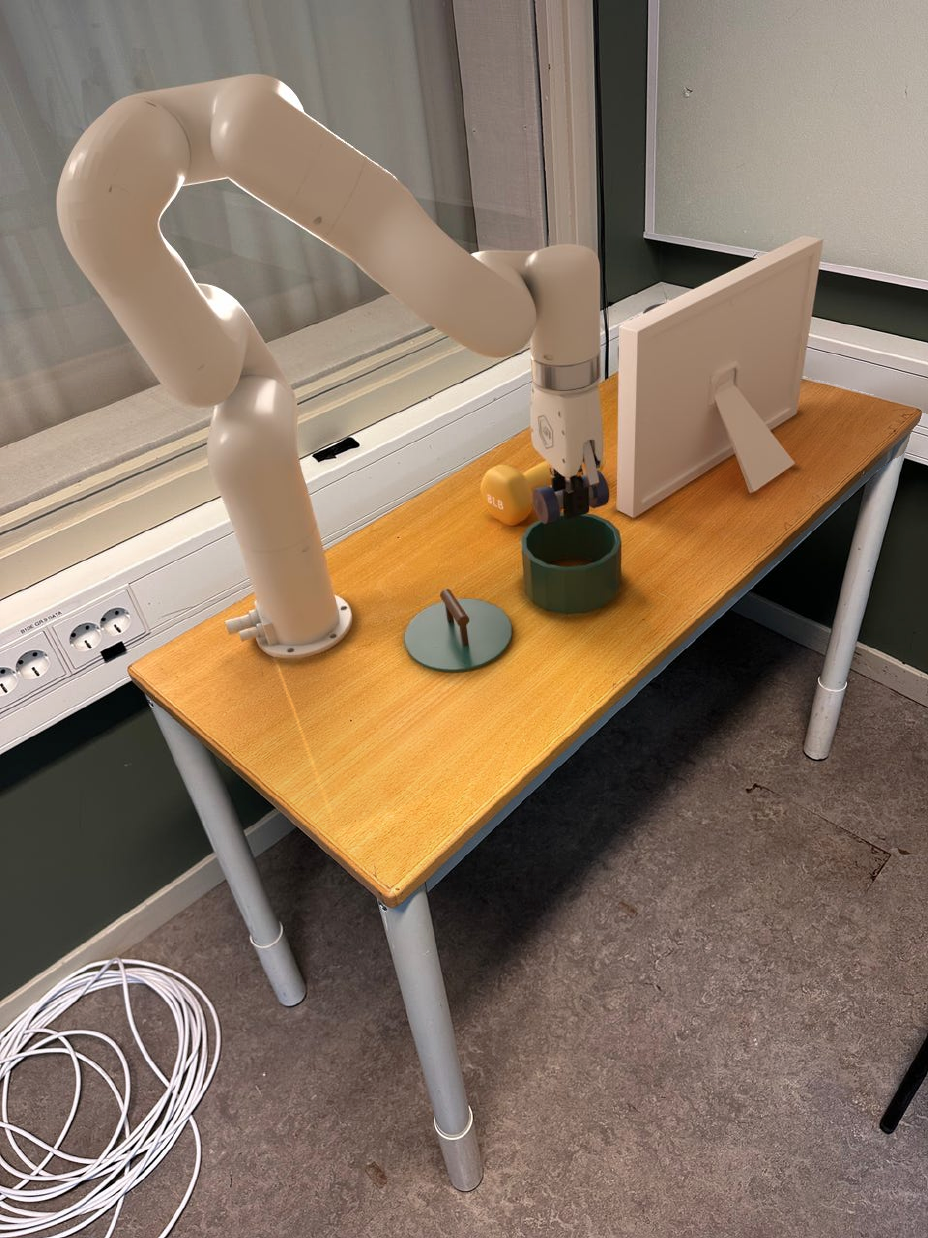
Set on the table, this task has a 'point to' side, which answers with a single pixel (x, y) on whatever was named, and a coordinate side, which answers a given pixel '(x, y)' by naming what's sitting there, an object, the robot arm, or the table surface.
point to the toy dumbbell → (552, 502)
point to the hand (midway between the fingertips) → (570, 508)
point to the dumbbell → (514, 490)
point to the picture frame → (714, 376)
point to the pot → (575, 583)
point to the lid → (458, 634)
